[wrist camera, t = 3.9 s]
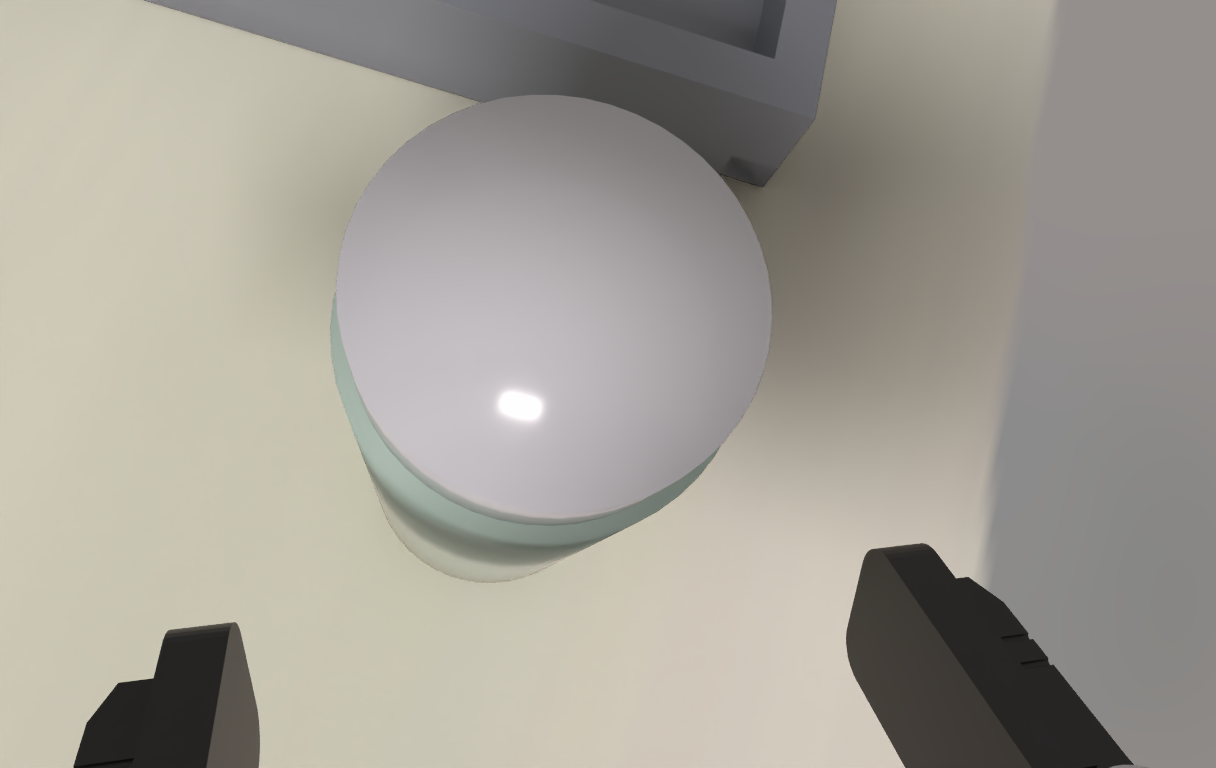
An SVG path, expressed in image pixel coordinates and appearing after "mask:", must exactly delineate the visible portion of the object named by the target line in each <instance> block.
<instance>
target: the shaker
mask: <svg viewBox="0 0 1216 768" xmlns="http://www.w3.org/2000/svg"><path fill="white" fill-rule="evenodd" d="M771 329H772V296H771V289H770V282H769V276H768V270H767V266H766V263H765V259H764V256H763V252H762V249H761V245H760V243H759V241H758V238H757V236H756V234H755V231H754V229H753V227H752V224H751V222H750V220H749V218H748V217H747V215H746V213H745V211H744V210H743V208H742V206H741V204H740V203H739V201H738V199H737V198H736V196H735V195H734V194H733V192H732V191H731V190H730V188H729V187H728V186H727V184H726V183H725V182H724V180H723V179H722V178H721V177H720V175H719V174H718V173H717V172H716V171H715V170H714V169H713V168H712V167H711V166H710V165H709V164H708V163H707V162H706V161H705V160H704V159H703V158H702V157H701V156H700V155H699V154H698V153H696V152H695V151H694V150H693V149H692V148H690V147H689V146H688V145H687V144H686V143H684V142H683V141H682V140H680V139H679V138H677V137H676V136H674V135H673V134H671V133H670V132H668V131H667V130H665V129H664V128H662V127H661V126H659V125H657V124H655V123H653V122H651V121H649V120H647V119H645V118H643V117H641V116H639V115H637V114H635V113H632V112H629V111H626V110H624V109H621V108H618V107H616V106H613V105H610V104H606V103H602V102H598V101H594V100H590V99H585V98H578V97H570V96H562V95H524V96H516V97H507V98H501V99H497V100H493V101H489V102H484V103H480V104H477V105H474V106H471V107H469V108H466V109H463V110H461V111H458V112H455V113H453V114H451V115H449V116H447V117H445V118H443V119H441V120H440V121H438V122H436V123H434V124H432V125H430V126H428V127H427V128H426V129H424V130H423V131H421V132H420V133H419V134H417V135H416V136H414V137H413V138H412V139H410V140H409V141H407V142H406V143H405V144H404V145H403V146H402V147H401V148H400V149H399V150H398V151H397V152H396V153H395V154H394V155H392V156H391V157H390V158H389V159H388V160H387V161H386V163H385V164H384V165H383V166H382V168H381V169H380V170H379V171H378V173H377V174H376V175H375V176H374V178H373V179H372V180H371V181H370V183H369V185H368V186H367V188H366V190H365V191H364V193H363V195H362V196H361V198H360V200H359V201H358V203H357V205H356V207H355V209H354V212H353V214H352V217H351V219H350V221H349V224H348V226H347V229H346V232H345V236H344V239H343V243H342V247H341V251H340V255H339V261H338V271H337V280H336V292H335V296H334V299H333V307H332V316H331V325H330V336H331V357H332V363H333V368H334V374H335V380H336V384H337V387H338V390H339V393H340V396H341V399H342V402H343V405H344V408H345V411H346V414H347V416H348V419H349V422H350V424H351V427H352V430H353V432H354V435H355V438H356V440H357V443H358V445H359V448H360V451H361V453H362V456H363V459H364V461H365V464H366V467H367V469H368V472H369V474H370V477H371V480H372V482H373V485H374V488H375V490H376V493H377V496H378V498H379V501H380V504H381V506H382V509H383V511H384V514H385V516H386V518H387V520H388V522H389V524H390V526H391V528H392V529H393V531H394V532H395V534H396V535H397V537H398V538H399V539H400V541H401V542H402V543H403V544H404V545H405V546H406V547H407V548H408V549H409V551H411V552H412V553H413V554H414V555H415V556H416V557H418V558H419V559H420V560H421V561H423V562H424V563H426V564H427V565H429V566H431V567H432V568H434V569H436V570H438V571H440V572H442V573H444V574H446V575H449V576H452V577H455V578H459V579H462V580H467V581H473V582H484V583H496V582H506V581H512V580H516V579H520V578H524V577H526V576H529V575H532V574H534V573H537V572H539V571H541V570H543V569H545V568H547V567H549V566H551V565H553V564H555V563H557V562H559V561H561V560H563V559H565V558H567V557H569V556H571V555H573V554H575V553H577V552H579V551H581V550H583V549H585V548H587V547H589V546H591V545H593V544H595V543H597V542H599V541H601V540H603V539H605V538H607V537H609V536H611V535H613V534H615V533H617V532H619V531H621V530H623V529H625V528H627V527H629V526H631V525H633V524H635V523H637V522H639V521H641V520H643V519H644V518H646V517H648V516H650V515H652V514H654V513H656V512H657V511H659V510H660V509H662V508H663V507H664V506H666V505H667V504H668V503H670V502H671V501H672V500H674V499H675V498H677V497H678V496H679V495H680V494H681V493H682V492H683V491H684V490H685V489H686V488H688V487H689V486H690V485H691V484H692V483H693V482H694V481H695V480H696V479H697V478H698V477H699V475H700V474H701V473H702V472H703V470H704V469H705V468H706V467H707V465H708V464H709V463H710V461H711V460H712V459H713V458H714V456H715V455H716V453H717V451H718V449H719V448H720V446H721V444H723V442H724V441H725V440H726V438H727V437H728V436H729V435H730V433H731V432H732V431H733V430H734V428H735V427H736V426H737V424H738V423H739V422H740V420H741V418H742V417H743V415H744V413H745V411H746V410H747V408H748V406H749V405H750V403H751V401H752V399H753V397H754V395H755V392H756V390H757V387H758V385H759V382H760V380H761V377H762V375H763V371H764V367H765V363H766V359H767V356H768V352H769V346H770V337H771Z"/></svg>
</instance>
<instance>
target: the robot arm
mask: <svg viewBox="0 0 1216 768" xmlns="http://www.w3.org/2000/svg"><path fill="white" fill-rule="evenodd" d="M846 645H847V653H848V658H849V662H850V666H851V669H852V671H853V674H854V676H855V678H856V680H857V682H858V684H859V685H860V687H861V689H862V691H863V693H864V694H865V696H866V698H867V700H868V702H869V703H870V705H871V707H872V709H873V711H874V712H875V714H876V716H877V718H878V720H879V721H880V723H881V725H882V727H883V728H884V730H885V732H886V734H887V736H888V737H889V739H890V741H891V743H892V745H893V746H894V748H895V750H896V752H897V754H898V755H899V757H900V759H901V761H902V763H903V764H904V766H905V768H1147V767H1143V766H1137V765H1134V764H1133V763H1132V762H1131V761H1130V760H1129V759H1128V757H1127V756H1126V755H1125V754H1124V752H1123V751H1122V750H1121V749H1120V747H1119V746H1118V745H1117V744H1116V742H1115V741H1114V740H1113V739H1112V737H1111V736H1110V735H1109V734H1108V732H1107V731H1106V730H1105V729H1104V728H1103V726H1102V725H1101V724H1100V722H1099V721H1098V720H1097V719H1096V717H1095V716H1094V715H1093V714H1092V713H1091V711H1090V710H1089V709H1088V708H1087V706H1086V705H1085V704H1084V703H1083V701H1082V700H1081V699H1080V697H1079V696H1078V695H1077V694H1076V692H1075V691H1074V690H1073V689H1072V687H1071V686H1070V685H1069V684H1068V682H1067V681H1066V680H1065V679H1064V677H1063V676H1062V675H1061V674H1060V672H1059V671H1058V670H1057V669H1056V667H1055V666H1054V665H1050V664H1049V662H1048V657H1047V656H1046V655H1045V654H1044V652H1043V651H1042V650H1041V648H1040V647H1039V646H1038V645H1037V643H1036V642H1035V641H1034V640H1033V639H1031V640H1030V639H1029V638H1028V632H1027V631H1026V630H1025V629H1024V627H1023V626H1022V625H1021V624H1020V622H1019V621H1018V620H1017V618H1016V617H1015V616H1014V615H1013V614H1012V612H1011V611H1010V610H1009V608H1008V607H1007V606H1006V605H1005V604H1004V602H1002V601H1001V600H1000V599H998V598H997V597H996V596H994V595H993V594H991V593H990V592H988V591H987V590H986V589H984V588H983V587H981V586H980V585H979V584H977V583H976V582H974V581H973V580H972V579H970V578H969V577H965V578H957V579H956V578H955V577H954V575H953V574H952V573H951V571H950V570H949V569H948V567H947V566H946V565H945V563H944V562H943V561H942V559H941V558H940V557H939V556H938V554H937V553H936V552H935V551H934V549H933V548H931V547H930V546H929V545H927V544H923V543H920V544H912V545H903V546H895V547H887V548H878V549H871V550H870V551H868V552H867V554H866V555H865V557H864V560H863V564H862V568H861V572H860V577H859V581H858V585H857V589H856V594H855V598H854V602H853V606H852V610H851V615H850V619H849V623H848V627H847V634H846ZM259 754H260V732H259V718H258V711H257V705H256V701H255V696H254V692H253V687H252V683H251V678H250V673H249V669H248V664H247V660H246V655H245V651H244V646H243V641H242V637H241V633H240V629H239V626H238V625H237V623H236V622H233V623H225V624H216V625H208V626H199V627H191V628H182V629H174V630H169V631H167V633H166V634H165V637H164V639H163V643H162V647H161V651H160V655H159V659H158V663H157V667H156V671H155V675H154V679H146V680H138V681H130V682H122V683H118V684H117V685H116V687H115V688H114V689H113V691H112V692H111V693H110V694H109V696H108V697H107V698H106V699H105V701H104V702H103V703H102V704H101V706H100V707H99V708H98V709H97V711H96V712H95V713H94V715H93V716H92V717H91V718H90V720H89V721H88V722H87V724H86V727H85V730H84V734H83V737H82V740H81V743H80V747H79V750H78V753H77V756H76V760H75V763H74V766H73V767H74V768H258V767H259Z"/></svg>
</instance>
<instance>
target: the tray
mask: <svg viewBox="0 0 1216 768" xmlns="http://www.w3.org/2000/svg"><path fill="white" fill-rule="evenodd" d="M145 1H148V2H152V3H155V4H158V5H162V6H165V7H168V8H172V9H175V10H178V11H182V12H185V13H188V14H192V15H195V16H198V17H201V18H205V19H208V20H211V21H215V22H218V23H221V24H225V25H228V26H231V27H235V28H238V29H241V30H245V31H248V32H251V33H254V34H258V35H261V36H264V37H268V38H271V39H274V40H278V41H281V42H284V43H288V44H291V45H294V46H298V47H301V48H304V49H307V50H311V51H314V52H317V53H321V54H324V55H327V56H331V57H334V58H337V59H341V60H344V61H347V62H351V63H354V64H357V65H360V66H364V67H367V68H370V69H374V70H377V71H380V72H384V73H387V74H390V75H394V76H397V77H400V78H404V79H407V80H410V81H413V82H417V83H420V84H423V85H427V86H430V87H433V88H437V89H440V90H443V91H447V92H450V93H453V94H457V95H460V96H463V97H466V98H470V99H473V100H476V101H480V102H483V103H484V102H489V101H493V100H497V99H501V98H507V97H516V96H524V95H562V96H570V97H578V98H585V99H590V100H594V101H598V102H602V103H606V104H610V105H613V106H616V107H618V108H621V109H624V110H626V111H629V112H632V113H635V114H637V115H639V116H641V117H643V118H645V119H647V120H649V121H651V122H653V123H655V124H657V125H659V126H661V127H662V128H664V129H665V130H667V131H668V132H670V133H671V134H673V135H674V136H676V137H677V138H679V139H680V140H682V141H683V142H684V143H686V144H687V145H688V146H689V147H690V148H692V149H693V150H694V151H695V152H696V153H698V154H699V155H700V156H701V157H702V158H703V159H704V160H705V161H706V162H707V163H708V164H709V165H710V166H711V167H712V168H713V169H714V170H715V171H716V172H717V173H718V174H722V175H725V176H728V177H732V178H735V179H738V180H741V181H745V182H748V183H751V184H755V185H758V186H761V187H764V185H765V184H766V183H767V181H768V180H769V179H770V177H771V176H772V175H773V174H774V172H775V171H776V170H777V168H778V167H779V166H780V164H781V163H782V162H783V160H784V159H785V158H786V156H787V155H788V154H789V153H790V151H791V150H792V149H793V147H794V146H795V145H796V143H797V142H798V141H799V139H800V138H801V137H802V135H803V134H804V133H805V132H806V130H807V129H808V128H809V126H810V125H811V124H812V122H813V121H814V120H815V117H816V111H817V106H818V101H819V95H820V90H821V84H822V79H823V73H824V68H825V62H826V57H827V51H828V46H829V40H830V35H831V29H832V24H833V18H834V13H835V8H836V2H837V0H145Z"/></svg>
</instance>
